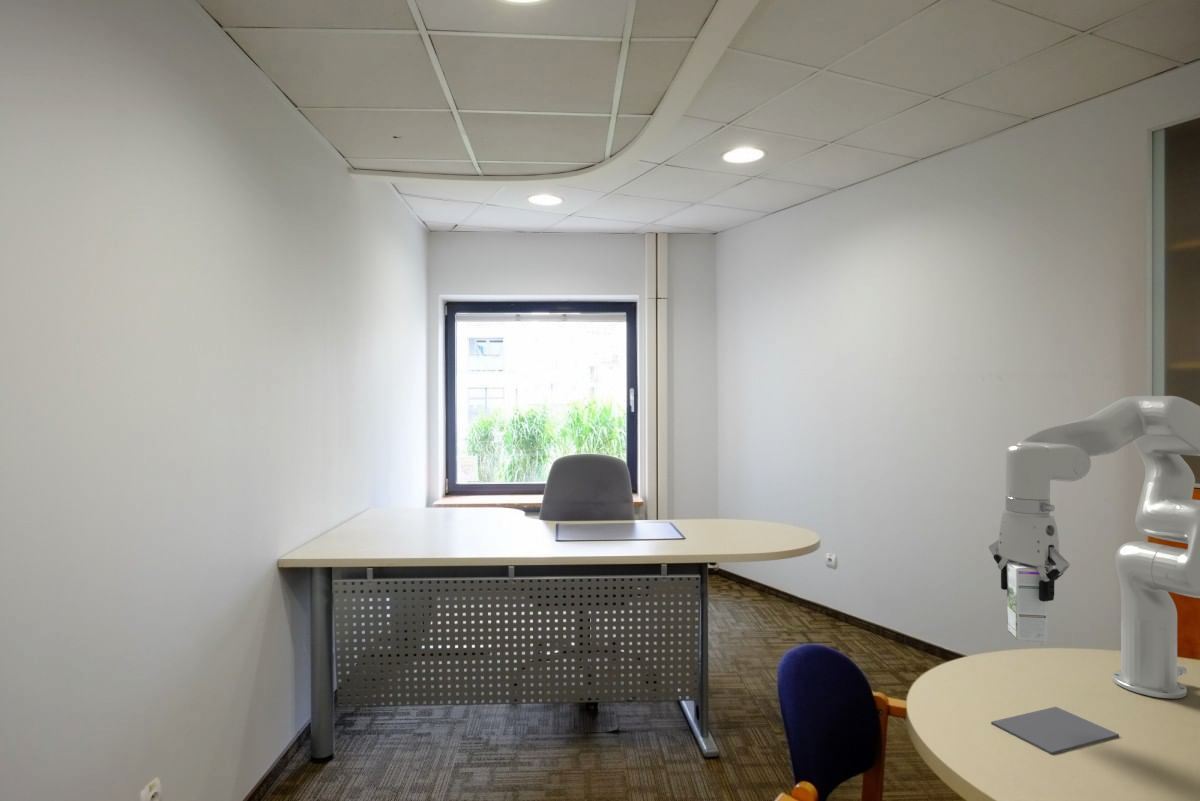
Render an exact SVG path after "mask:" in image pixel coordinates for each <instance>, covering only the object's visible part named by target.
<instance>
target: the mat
mask: <svg viewBox="0 0 1200 801" xmlns="http://www.w3.org/2000/svg"><path fill="white" fill-rule="evenodd" d="M990 724H991V725H993V726H994V727H996V728H999V730H1000V729H1001V730H1002V731H1005V732H1007V733H1009V734H1010V735H1012V736H1014V737H1017V738H1018V739H1021V740H1022V741H1024V742H1026V743H1028V744H1030V745H1032V746H1035V747H1036V748H1038V749H1039V750H1042V751H1044V752H1046V753H1048V754H1050V755H1055V754H1058V753H1062V752H1067V751H1069V750H1073V749H1077V748H1080V747H1085V746H1088V745H1092V744H1095V743H1099V742H1102V741H1107V740H1110V739H1115V738H1118V737H1120V734H1119V733H1116V732H1115V731H1112V730H1109V729H1108V728H1105V727H1103V726H1101V725H1099V724H1097V723H1094V722H1092V721H1090V720H1087V719H1085V718H1083V717H1081V716H1079V715H1076V714H1073V713H1071V712H1069V711H1067V710H1065V709H1062V708H1060V707H1058V706H1051V707H1049V708H1045V709H1040V710H1039V709H1038V710H1036V711H1032V712H1026V713H1023V714H1018V715H1015V716H1010V717H1006V718H1005V717H1004V718H1002V719H997V720H992V721H991V722H990Z"/></svg>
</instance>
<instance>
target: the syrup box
mask: <svg viewBox="0 0 1200 801" xmlns="http://www.w3.org/2000/svg"><path fill="white" fill-rule="evenodd" d="M1045 569H1046V568H1045ZM1046 571H1047V569H1046ZM1040 580H1042V578H1041V576H1040V573H1039V571H1038V569H1037V567H1035V566H1030V565H1026V564H1022V563H1018V562H1008V563H1007V590H1006V604H1007V606H1006V610H1007V612H1006V616H1007V618H1006V621H1007V622H1006V623H1007V625H1006V626H1007V628H1006V629H1007V632H1009V633H1010V635H1011V636H1013V637H1014V638H1015V639H1016V640H1017V641H1023V642H1032V643H1046V644H1047V643H1049V601H1044V602H1043V601H1040V600H1039V581H1040Z"/></svg>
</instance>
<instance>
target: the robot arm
mask: <svg viewBox="0 0 1200 801" xmlns="http://www.w3.org/2000/svg"><path fill="white" fill-rule="evenodd" d="M1130 443H1132V444H1133V445H1134V446H1135V448H1136V450H1137V452H1138V453H1139V455H1140V458H1141V460H1142V462H1143V464H1144V469H1145V475H1144V481H1143V485H1142V489H1141V493H1140V496H1139V501H1138V504H1137V508H1136V512H1135V518H1134V519H1135V520H1134V521H1135V527H1136V529H1137V530H1138V531H1139V532H1140V533H1141V534H1143V535H1144V536H1145V535H1146V536H1148V537H1151V538H1155V539H1160V540H1165V541H1170V542H1175V543H1176V542H1177V543H1182V544H1187V548H1181V547H1176V546H1175V547H1174V546H1170V545H1165V544H1161V543H1160V544H1159V543H1155V542H1149V541H1140V540H1139V541H1138V540H1135V541H1128V542H1126V543H1124V544H1121V545H1120V546H1119V548H1117V551H1116V552H1115V557H1114V558H1115V559H1114V561H1115V567H1116V568H1115V569H1116V574H1117V576H1118V581H1119V585H1120V586H1119V588H1120V603H1121V604H1120V605H1121V606H1120V607H1121V608H1120V609H1121V611H1120V612H1121V613H1120V619H1121V620H1120V639H1121V641H1120V646H1121V649H1120V654H1121V656H1120V657H1121V658H1120V661H1121V663H1120V666H1121V667H1120V670H1116V671H1114V672H1112V681H1113V682H1114V683H1115V684H1117V685H1118V686H1120V687H1122V688H1124V689H1125V690H1128V691H1130V692H1134V693H1137V694H1139V695H1145V696H1148V697H1151V698H1152V697H1153V698H1154V697H1155V698H1159V699H1169V700H1170V699H1171V700H1173V699H1182V698H1184V697H1186V696H1187V693H1188V690H1187V687H1186V686H1185V685H1184V684H1183V683H1180V682H1179V681H1178V678H1179V676H1182V675H1186V674H1187V673H1188V670H1187V668H1186V667H1185V666H1184V665H1182V664H1179V665H1178V611H1177V607H1176V603H1175V602H1174V600H1173V598H1172V597H1171V595H1170V594H1169V593H1172V594H1173V593H1174V594H1177V595H1182V596H1185V597H1190V598H1197V599H1200V499H1194V498H1193V495H1194V489H1195V484H1196V477H1195V475H1194V472H1193V470H1192V469H1191V467H1190V466H1189V464H1188V463H1187V462H1186V461H1185V460H1184V458H1183V456H1184V455H1185V456H1197V457H1200V405H1199V404H1197V403H1194V402H1193V401H1191V400H1189V399H1185V398H1183V397H1180V396H1177V395H1176V396H1175V395H1132V396H1125V397H1123V398H1120V399H1118V400H1116V401H1114V402H1113V403H1110V404H1109V405H1107V406H1106V407H1104V408H1102V409H1101V410H1098V411H1097V412H1095V413H1093V414H1092V415H1090V416H1088V417H1086V418H1083V419H1078V420H1073V421H1069V422H1066V423H1063V424H1059V425H1054V426H1051V427H1047V428H1044V429H1042V430H1039V431H1036V432H1034V433H1032V434H1030V435H1028V436H1026V437H1025V438H1023V439H1021V440H1019V442H1017V443H1016V444H1012V445H1009V446H1008V447H1007V448H1006V451H1005V510H1003V512H1002V515H1001V519H1000V523H999V524H1000V525H999V531H998V532H999V533H998V540H997V541H995V542H993V543H992V544H991V543H990V545H989V546H988V549H989V551H990V553H991V555H992V556H993V559H994V561H995V562H996V564H997V568H998V569H999V570H1000V589H1001V590H1003V591H1007V563H1008V562H1018V563H1022V564H1026V565H1030V566H1035V567H1037V569H1038V571H1039V573H1040V576H1041V578H1042V580H1040V581H1039V600H1040V601H1043V602H1044V601H1048V602H1050V601H1054V599H1055V582H1056V581H1058V579H1059V578H1060V577H1062V576H1063V575H1064V573H1065V572H1066V571H1067V569H1069V568H1070V566H1071V565H1070V563H1069V562H1068V561H1067V559H1066V558H1064V557H1063V555H1062V554H1060V542H1059V533H1058V527H1057V523H1056V520H1055V516H1054V515H1051V512H1054V511H1055V508H1056V507H1055V505H1054V504H1051V481H1057V482H1065V483H1067V482H1071V483H1072V482H1075V481H1079V480H1082V479H1083V478H1084V477H1085V478H1086V476H1087V475H1088V474H1089V472H1090V470H1091V466H1092V461H1091V457H1098V456H1106V455H1110V454H1114V453H1115V452H1118V450H1121V449H1123V448H1124V447H1126V446H1127V445H1129V444H1130ZM1181 455H1182V456H1181ZM1046 569H1047V571H1046Z"/></svg>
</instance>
